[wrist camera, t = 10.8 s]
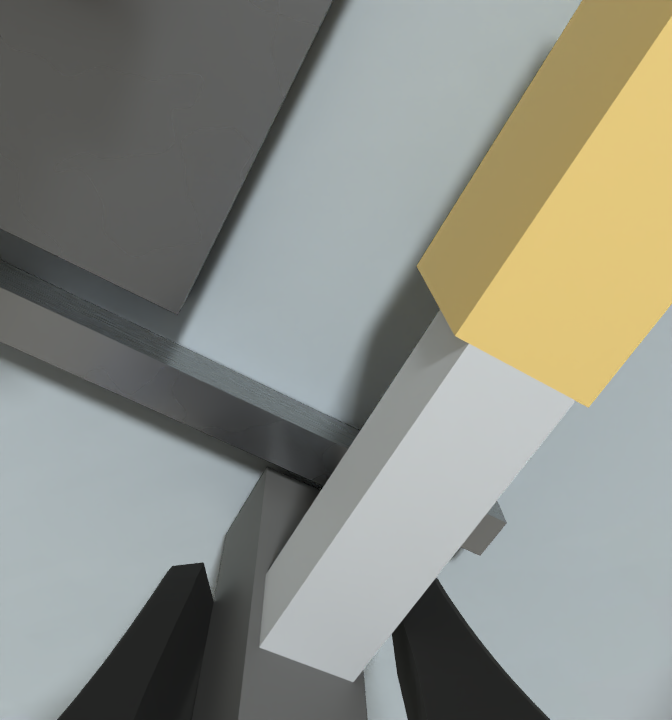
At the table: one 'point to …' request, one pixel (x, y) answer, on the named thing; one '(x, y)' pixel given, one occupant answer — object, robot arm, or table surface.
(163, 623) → the robot arm
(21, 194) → the press base
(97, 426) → the table surface
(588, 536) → the table surface
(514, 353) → the lever with yellow grip
